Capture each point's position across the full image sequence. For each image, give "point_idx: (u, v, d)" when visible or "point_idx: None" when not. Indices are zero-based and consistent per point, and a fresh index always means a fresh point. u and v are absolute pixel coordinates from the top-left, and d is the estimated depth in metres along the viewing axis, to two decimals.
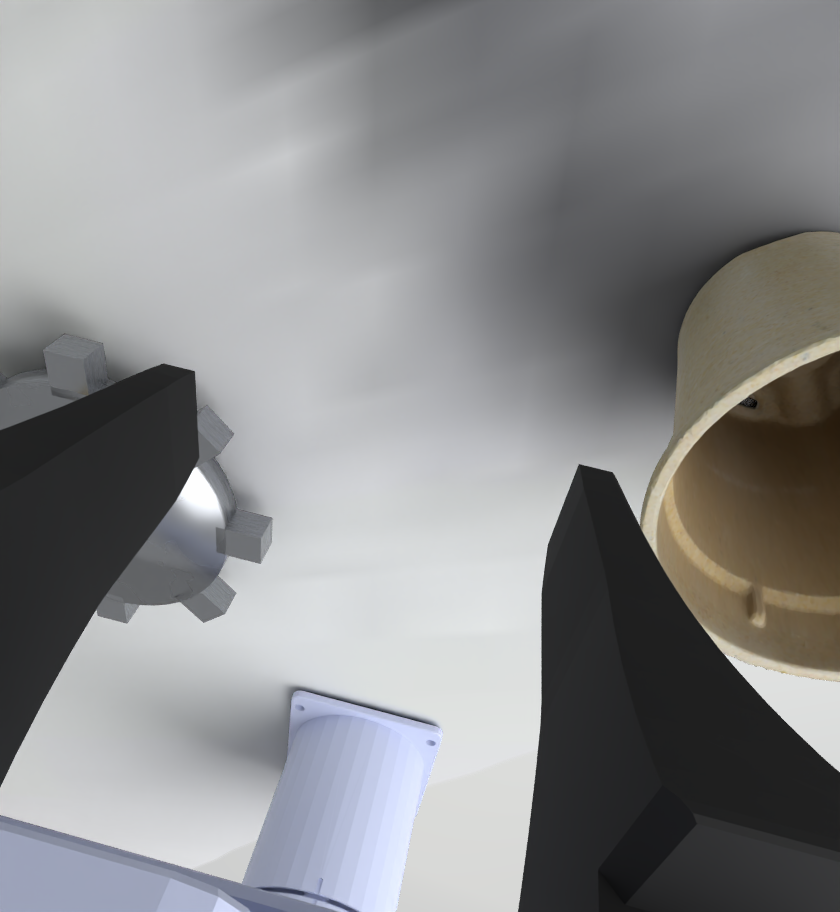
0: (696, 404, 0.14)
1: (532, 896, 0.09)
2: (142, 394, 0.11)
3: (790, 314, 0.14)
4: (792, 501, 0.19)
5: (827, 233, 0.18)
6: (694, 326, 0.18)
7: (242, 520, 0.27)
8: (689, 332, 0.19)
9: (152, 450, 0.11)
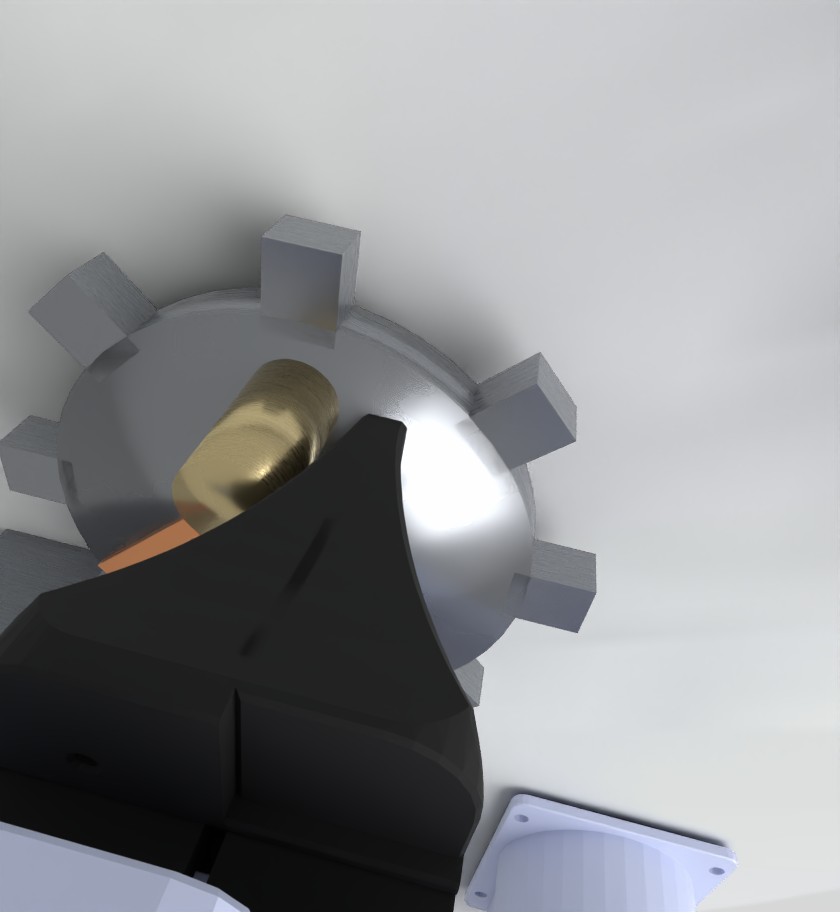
0: None
1: None
2: (373, 451, 0.11)
3: None
4: None
5: None
6: None
7: (551, 559, 0.15)
8: None
9: None
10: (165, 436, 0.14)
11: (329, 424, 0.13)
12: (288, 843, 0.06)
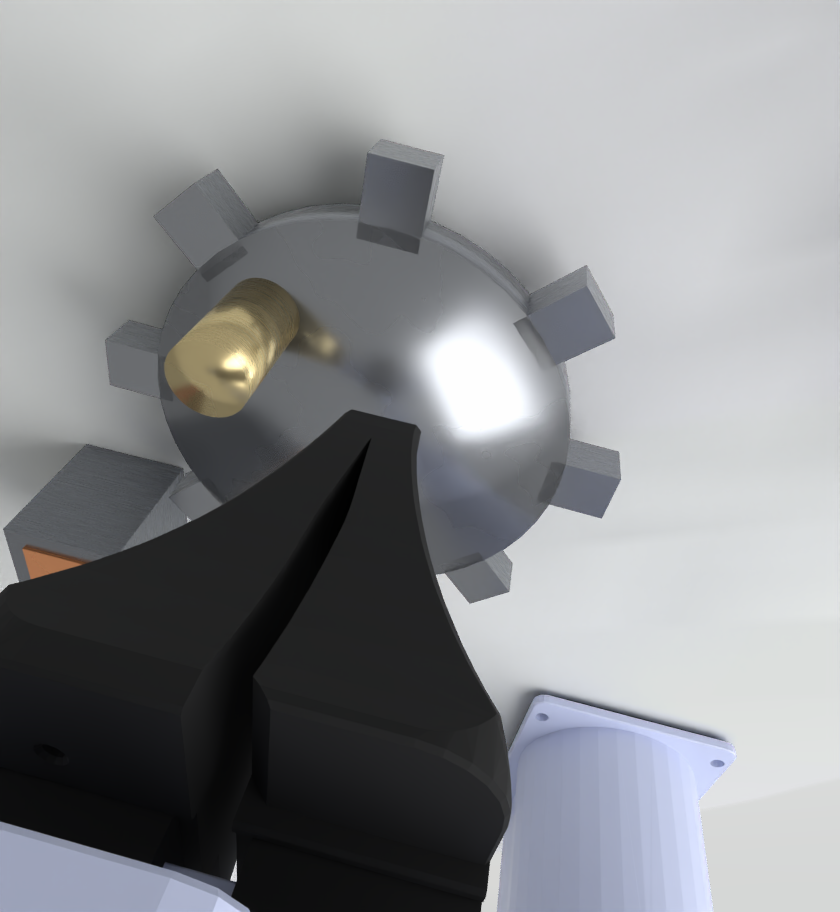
0: None
1: None
2: (354, 446, 0.11)
3: None
4: None
5: None
6: None
7: (545, 295, 0.16)
8: None
9: None
10: None
11: (277, 303, 0.16)
12: (315, 850, 0.06)
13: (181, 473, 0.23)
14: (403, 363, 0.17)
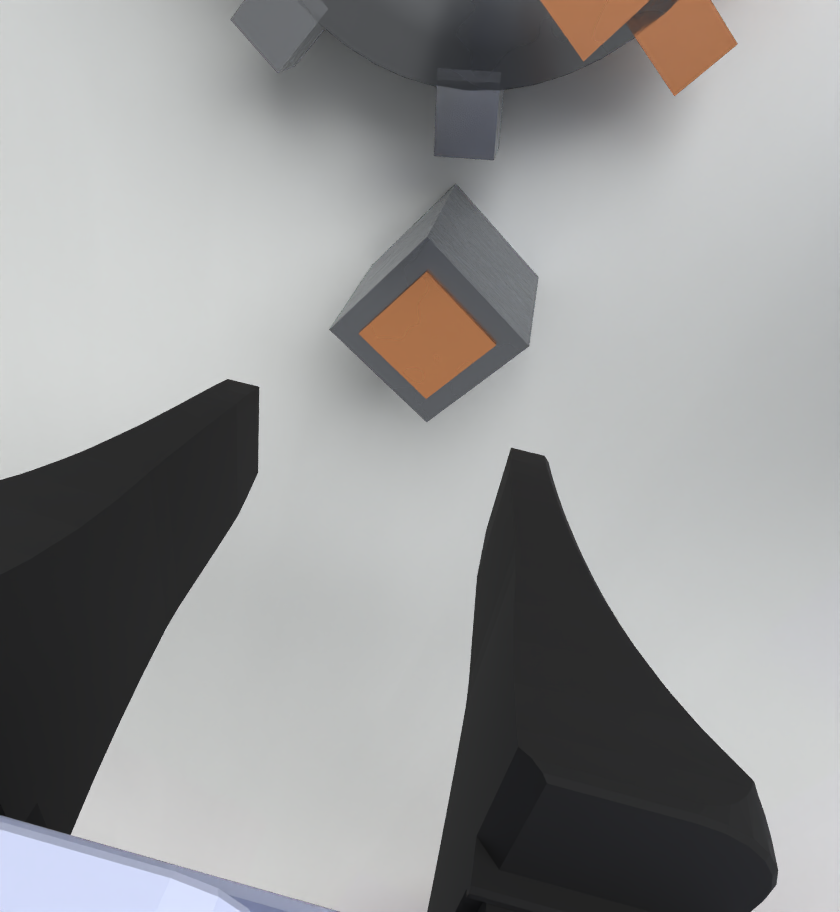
0: None
1: (441, 871, 0.09)
2: (214, 412, 0.11)
3: None
4: None
5: None
6: None
7: None
8: None
9: (221, 467, 0.11)
10: None
11: None
12: None
13: (457, 188, 0.19)
14: None
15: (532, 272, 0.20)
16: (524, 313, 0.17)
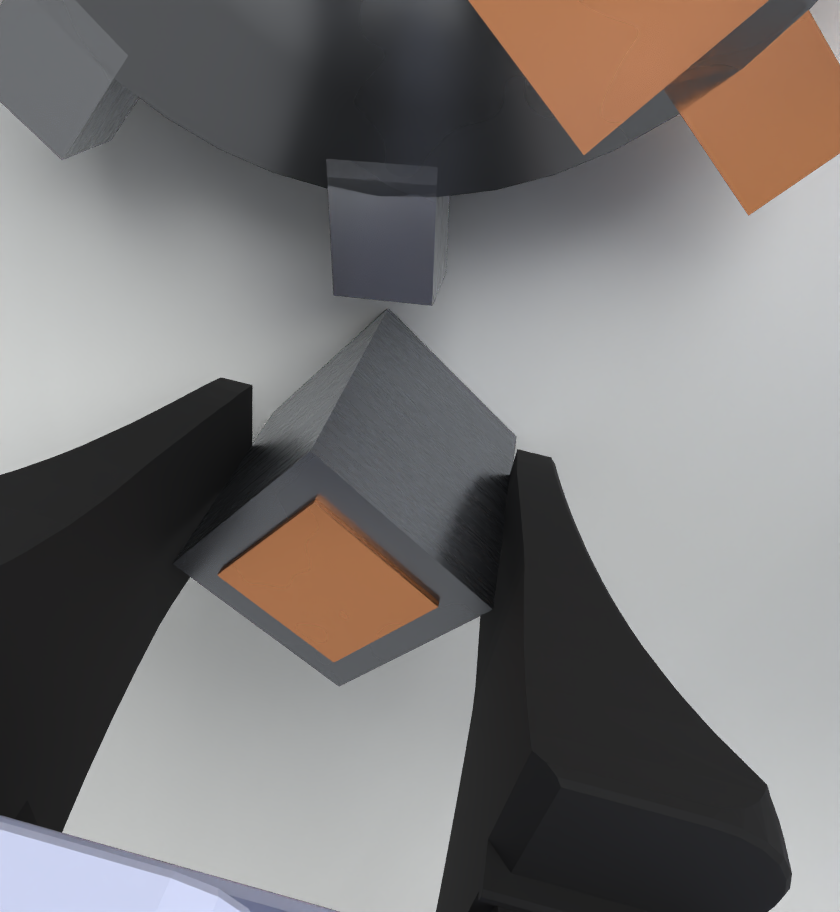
0: None
1: (449, 873, 0.09)
2: (207, 410, 0.11)
3: None
4: None
5: None
6: None
7: None
8: None
9: (214, 465, 0.11)
10: None
11: None
12: None
13: (390, 317, 0.12)
14: None
15: (507, 433, 0.13)
16: (488, 535, 0.11)
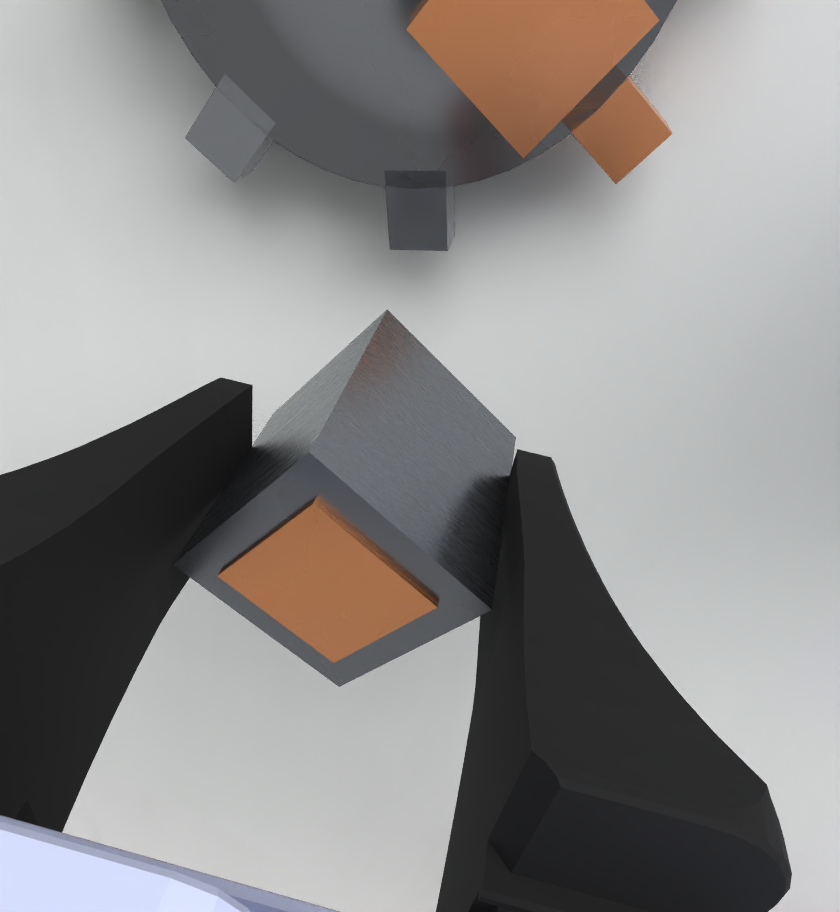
0: None
1: (449, 873, 0.09)
2: (207, 410, 0.11)
3: None
4: None
5: None
6: None
7: None
8: None
9: (213, 465, 0.11)
10: (309, 52, 0.14)
11: None
12: None
13: (389, 318, 0.12)
14: None
15: (506, 434, 0.13)
16: (487, 535, 0.11)
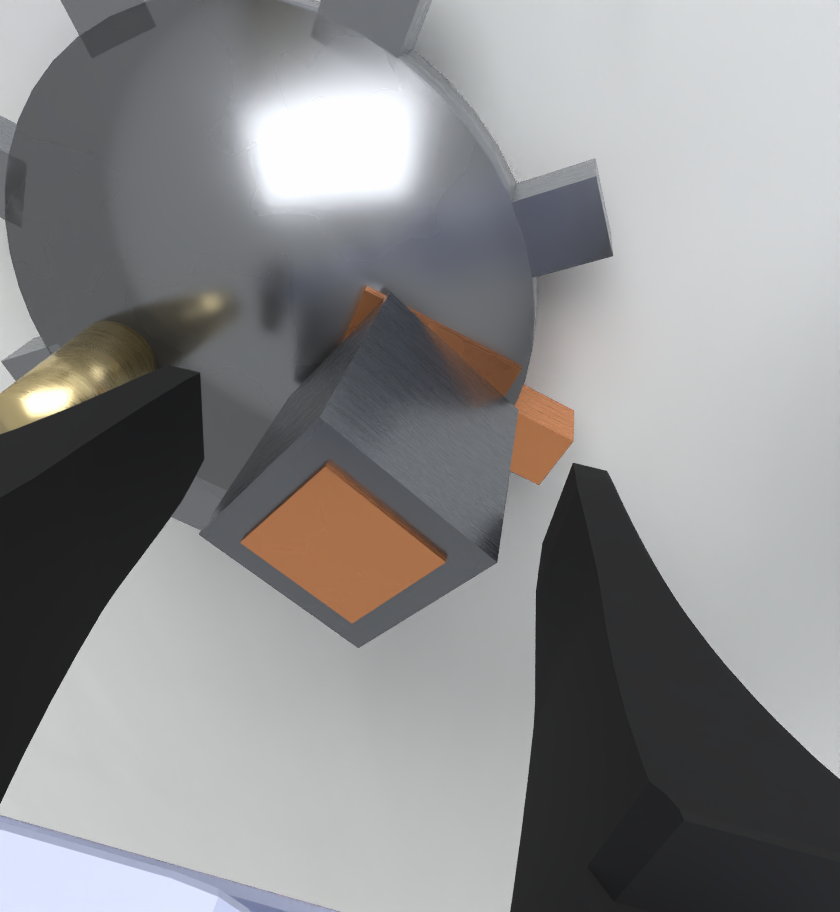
0: None
1: (524, 894, 0.09)
2: (148, 396, 0.11)
3: None
4: None
5: None
6: None
7: None
8: None
9: (158, 452, 0.11)
10: (239, 443, 0.16)
11: (75, 336, 0.14)
12: None
13: (392, 299, 0.13)
14: (163, 224, 0.13)
15: (509, 406, 0.14)
16: (492, 497, 0.11)
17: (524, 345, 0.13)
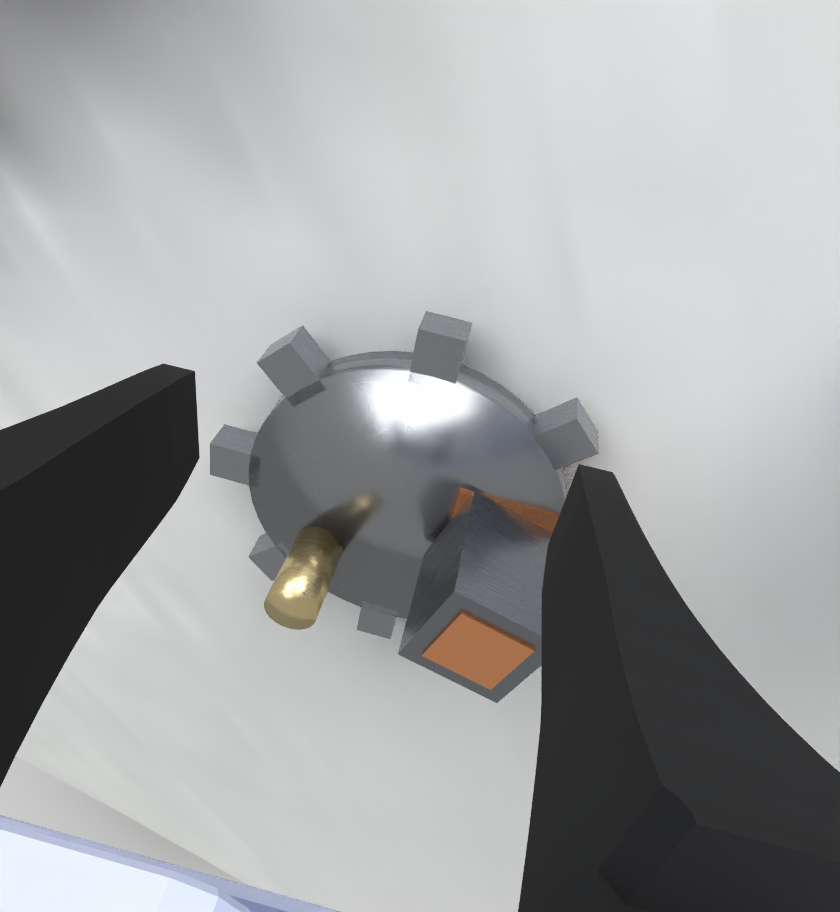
0: None
1: (532, 896, 0.09)
2: (142, 394, 0.11)
3: None
4: None
5: None
6: None
7: None
8: None
9: (152, 450, 0.11)
10: (398, 581, 0.26)
11: (296, 541, 0.24)
12: None
13: (476, 495, 0.22)
14: (339, 474, 0.23)
15: None
16: None
17: (559, 504, 0.22)
